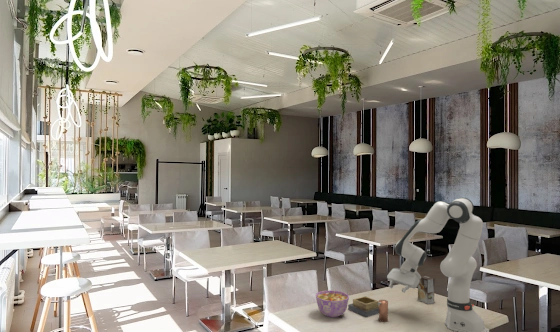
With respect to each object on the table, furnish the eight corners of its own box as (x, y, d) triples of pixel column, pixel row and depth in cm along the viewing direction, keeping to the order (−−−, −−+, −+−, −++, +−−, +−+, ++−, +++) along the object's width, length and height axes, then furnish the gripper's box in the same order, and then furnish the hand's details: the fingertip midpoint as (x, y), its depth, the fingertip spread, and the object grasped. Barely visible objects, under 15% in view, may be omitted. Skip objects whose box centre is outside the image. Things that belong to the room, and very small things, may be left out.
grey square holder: (383, 312, 236) (383, 301, 236) (365, 317, 227) (365, 306, 227) (365, 304, 248) (365, 294, 248) (348, 309, 240) (348, 298, 240)
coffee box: (435, 302, 253) (435, 278, 253) (427, 304, 250) (427, 279, 251) (424, 298, 261) (424, 274, 262) (417, 299, 259) (417, 276, 259)
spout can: (389, 320, 223) (390, 301, 223) (381, 323, 219) (381, 303, 219) (383, 317, 227) (383, 299, 227) (374, 320, 223) (374, 301, 223)
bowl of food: (322, 322, 218) (322, 302, 219) (310, 310, 238) (310, 291, 238) (354, 319, 224) (354, 299, 224) (340, 307, 243) (340, 289, 243)
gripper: (391, 264, 243) (380, 281, 237) (419, 271, 226) (407, 291, 220) (396, 270, 245) (385, 288, 240) (423, 278, 228) (412, 297, 223)
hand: (396, 289), depth 230 cm, fingers open, 8 cm apart
